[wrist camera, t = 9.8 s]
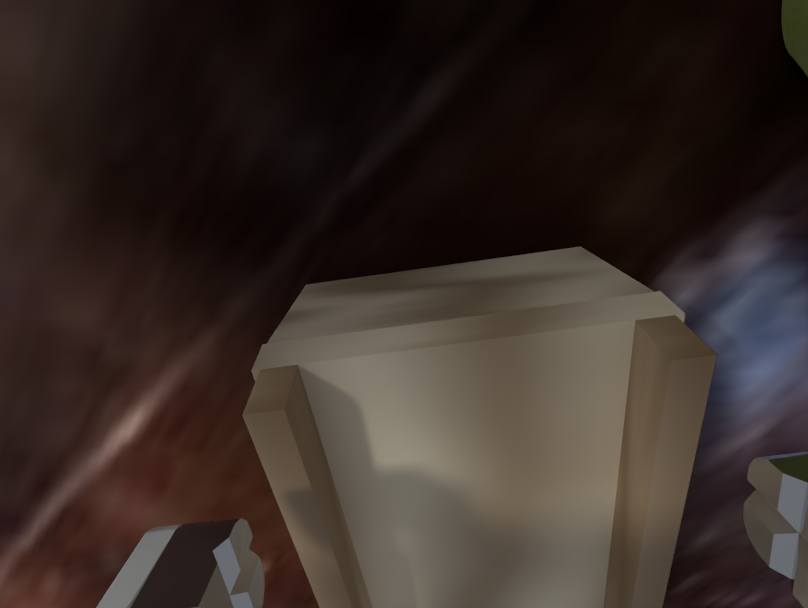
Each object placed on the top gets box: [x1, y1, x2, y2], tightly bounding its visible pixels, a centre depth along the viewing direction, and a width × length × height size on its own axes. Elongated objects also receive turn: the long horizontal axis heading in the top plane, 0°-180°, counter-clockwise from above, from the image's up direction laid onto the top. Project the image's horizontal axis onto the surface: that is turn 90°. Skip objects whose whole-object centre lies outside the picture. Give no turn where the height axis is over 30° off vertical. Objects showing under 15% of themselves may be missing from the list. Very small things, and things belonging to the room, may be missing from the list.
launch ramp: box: [242, 246, 717, 608], centre depth 14 cm, size 9×12×7 cm
